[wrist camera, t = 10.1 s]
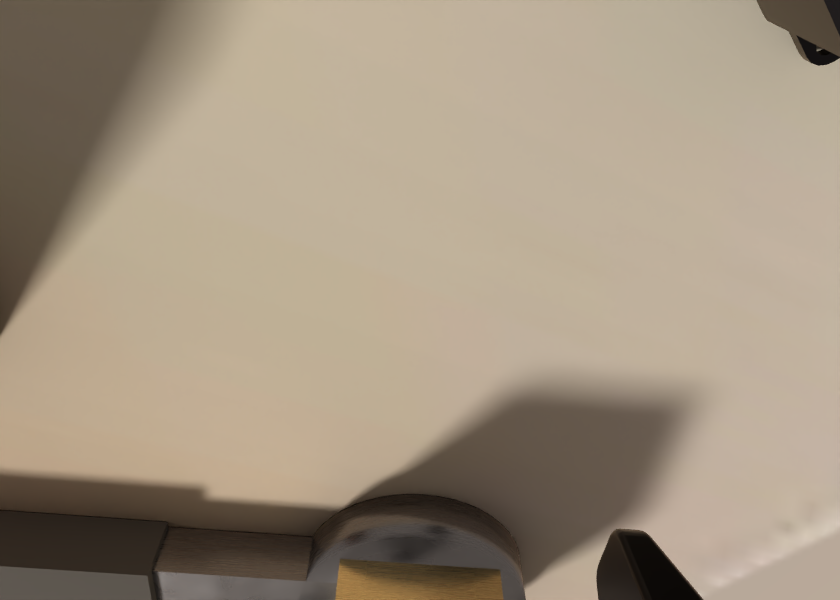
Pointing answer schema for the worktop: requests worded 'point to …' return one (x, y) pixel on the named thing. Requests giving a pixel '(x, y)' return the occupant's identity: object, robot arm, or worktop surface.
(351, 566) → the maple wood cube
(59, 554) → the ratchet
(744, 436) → the worktop surface
